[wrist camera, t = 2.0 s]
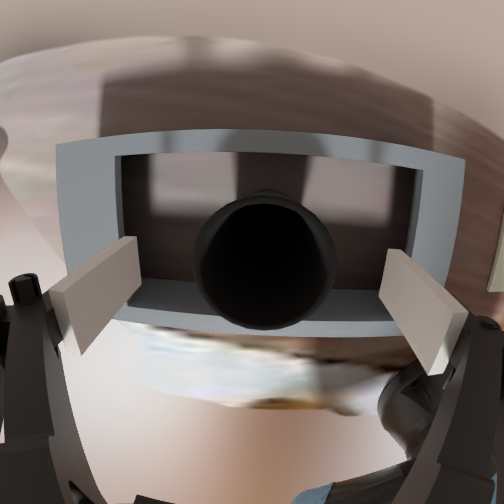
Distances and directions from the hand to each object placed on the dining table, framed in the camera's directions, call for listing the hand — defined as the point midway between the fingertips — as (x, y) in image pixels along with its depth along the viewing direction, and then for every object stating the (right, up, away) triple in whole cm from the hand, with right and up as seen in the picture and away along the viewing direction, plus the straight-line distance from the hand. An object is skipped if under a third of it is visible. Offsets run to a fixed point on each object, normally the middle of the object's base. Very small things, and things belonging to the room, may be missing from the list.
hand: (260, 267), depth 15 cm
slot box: (0, +4, +12) cm, 13 cm away
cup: (+1, +4, +12) cm, 13 cm away
